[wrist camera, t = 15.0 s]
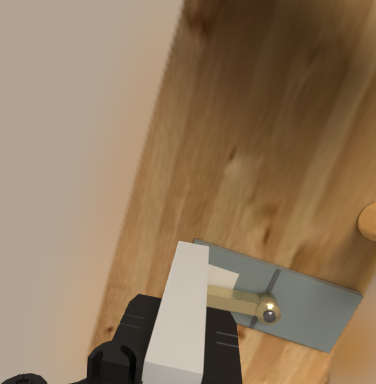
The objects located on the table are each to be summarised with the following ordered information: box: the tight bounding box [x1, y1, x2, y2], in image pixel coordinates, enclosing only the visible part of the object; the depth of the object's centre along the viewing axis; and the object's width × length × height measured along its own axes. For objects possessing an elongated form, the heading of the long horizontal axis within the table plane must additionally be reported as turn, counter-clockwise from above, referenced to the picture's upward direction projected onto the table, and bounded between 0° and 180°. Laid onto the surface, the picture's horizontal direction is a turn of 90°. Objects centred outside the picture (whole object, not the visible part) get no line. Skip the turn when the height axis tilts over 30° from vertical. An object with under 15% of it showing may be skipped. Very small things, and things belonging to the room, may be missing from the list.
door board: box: [193, 238, 363, 353], centre depth 44 cm, size 12×28×1 cm, turn 72°
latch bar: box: [206, 285, 281, 325], centre depth 41 cm, size 4×14×4 cm, turn 81°
